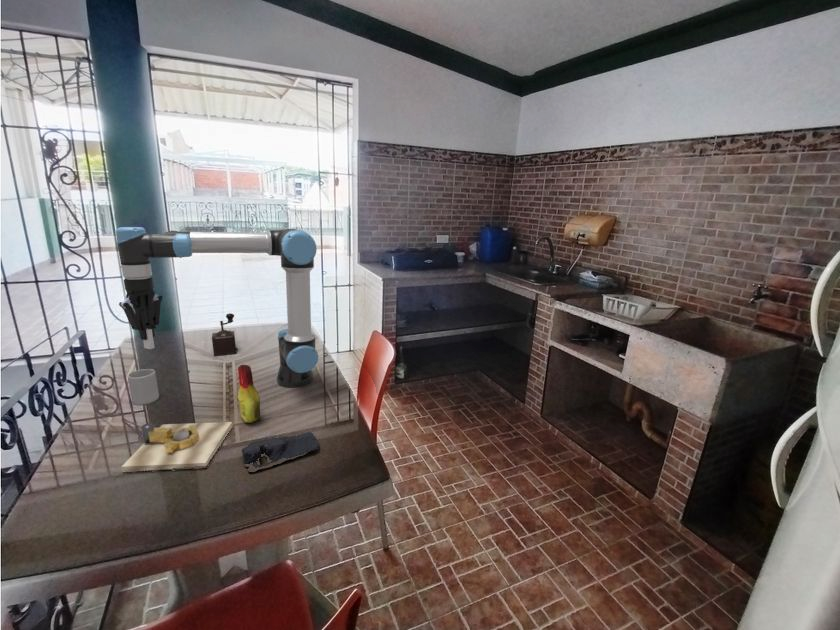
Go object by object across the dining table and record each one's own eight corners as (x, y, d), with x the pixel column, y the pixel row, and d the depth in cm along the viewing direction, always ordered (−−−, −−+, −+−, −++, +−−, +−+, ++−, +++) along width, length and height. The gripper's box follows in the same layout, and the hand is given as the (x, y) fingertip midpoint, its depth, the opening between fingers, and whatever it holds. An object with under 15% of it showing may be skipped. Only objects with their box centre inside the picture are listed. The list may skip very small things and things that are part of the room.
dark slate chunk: (323, 457, 118) (322, 443, 117) (244, 477, 109) (242, 463, 107) (312, 432, 131) (311, 419, 130) (241, 448, 122) (239, 434, 120)
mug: (154, 403, 146) (150, 376, 143) (128, 406, 143) (123, 378, 141) (165, 389, 157) (161, 364, 154) (141, 391, 155) (136, 366, 152)
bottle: (237, 412, 141) (232, 361, 136) (256, 408, 145) (251, 358, 140) (243, 428, 132) (238, 373, 126) (263, 422, 135) (259, 369, 130)
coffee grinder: (238, 353, 197) (234, 319, 192) (213, 356, 192) (209, 321, 188) (237, 344, 210) (234, 312, 206) (214, 346, 206) (210, 313, 201)
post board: (232, 427, 132) (231, 413, 131) (206, 468, 111) (204, 453, 110) (163, 429, 129) (160, 416, 128) (122, 472, 108) (119, 457, 107)
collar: (158, 429, 125) (155, 415, 124) (206, 430, 125) (205, 416, 124) (130, 452, 114) (127, 437, 112) (184, 453, 113) (181, 438, 112)
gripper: (148, 273, 129) (159, 340, 136) (107, 279, 117) (121, 352, 124) (165, 275, 127) (175, 343, 133) (125, 281, 115) (138, 356, 121)
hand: (149, 347), depth 129 cm, fingers closed
